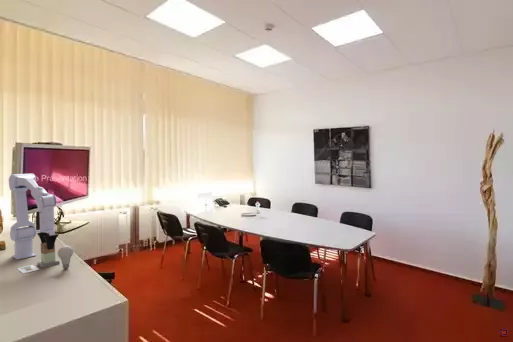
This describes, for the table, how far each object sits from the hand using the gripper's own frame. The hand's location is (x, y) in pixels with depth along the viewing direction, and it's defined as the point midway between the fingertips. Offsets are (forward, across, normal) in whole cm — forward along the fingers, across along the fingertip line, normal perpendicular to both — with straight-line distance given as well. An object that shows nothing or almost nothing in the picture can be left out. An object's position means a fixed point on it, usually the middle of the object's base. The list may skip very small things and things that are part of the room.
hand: (47, 247), depth 138 cm
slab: (+8, 0, 0) cm, 8 cm away
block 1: (+2, 0, 0) cm, 2 cm away
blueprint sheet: (+8, 0, -8) cm, 11 cm away
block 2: (+7, 0, 0) cm, 7 cm away
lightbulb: (+8, +14, +3) cm, 17 cm away
